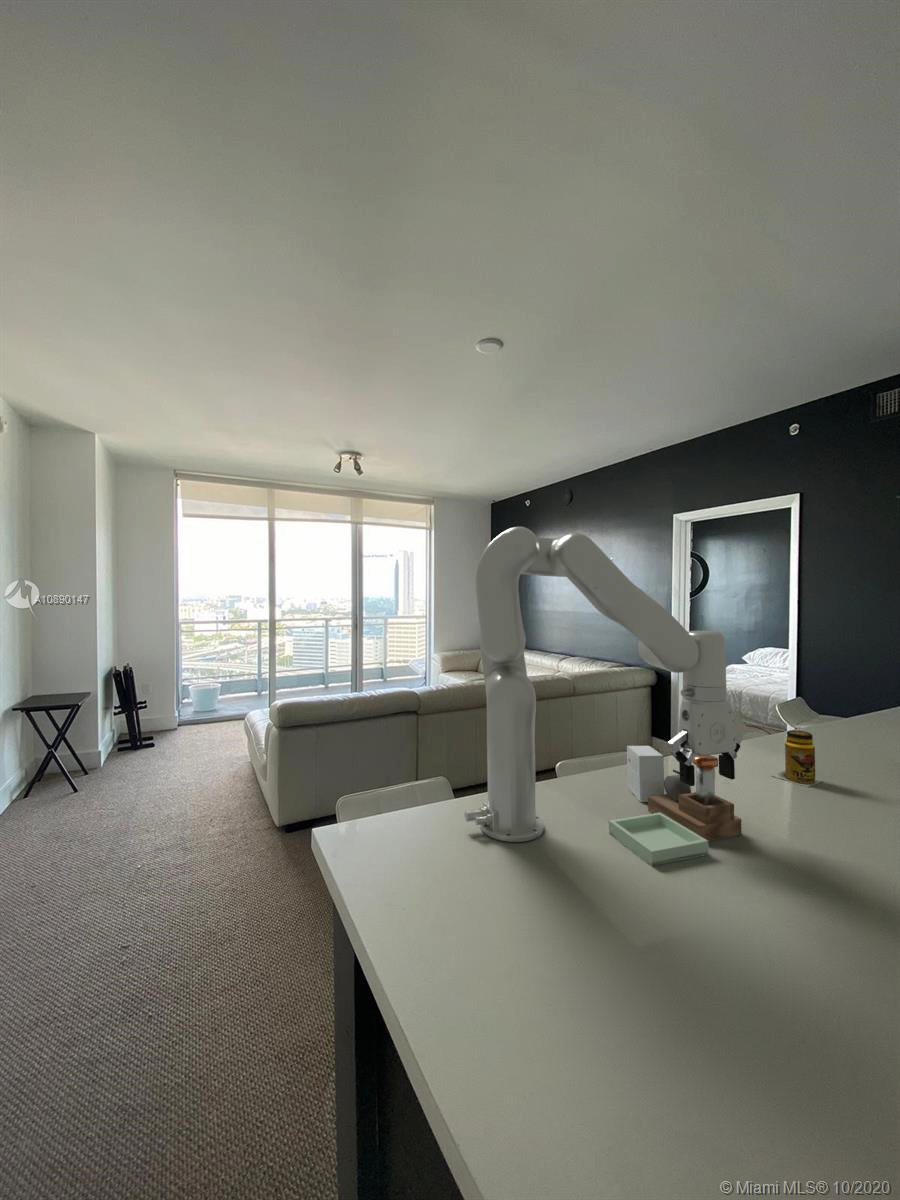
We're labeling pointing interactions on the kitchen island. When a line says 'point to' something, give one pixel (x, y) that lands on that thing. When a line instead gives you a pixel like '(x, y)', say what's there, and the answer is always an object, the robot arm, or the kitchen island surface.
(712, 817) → the brown wooden stepped holder
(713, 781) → the lock pin
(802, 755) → the condiment
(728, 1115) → the kitchen island surface
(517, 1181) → the kitchen island surface
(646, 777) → the small box
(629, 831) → the tray
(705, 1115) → the kitchen island surface
